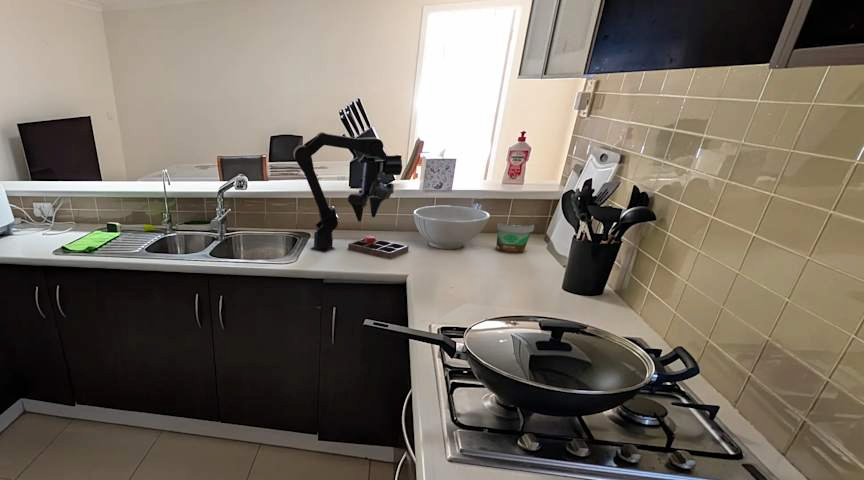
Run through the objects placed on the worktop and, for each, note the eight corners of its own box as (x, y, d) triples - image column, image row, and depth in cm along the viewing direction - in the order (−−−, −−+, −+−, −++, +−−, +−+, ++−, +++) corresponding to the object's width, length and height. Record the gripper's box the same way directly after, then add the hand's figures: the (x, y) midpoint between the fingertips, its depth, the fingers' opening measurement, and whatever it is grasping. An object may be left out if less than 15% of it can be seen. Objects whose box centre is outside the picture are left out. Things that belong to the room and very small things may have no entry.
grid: (347, 249, 193) (348, 243, 191) (366, 242, 200) (367, 237, 199) (389, 259, 181) (390, 253, 179) (408, 251, 188) (408, 245, 187)
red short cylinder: (362, 244, 196) (362, 237, 194) (367, 242, 198) (368, 234, 196) (370, 246, 193) (371, 238, 192) (376, 244, 195) (377, 236, 194)
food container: (492, 253, 183) (498, 225, 179) (491, 248, 188) (497, 221, 184) (529, 255, 179) (536, 227, 174) (528, 251, 184) (535, 223, 179)
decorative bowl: (398, 247, 194) (401, 215, 188) (425, 232, 211) (430, 203, 205) (468, 259, 178) (475, 225, 172) (492, 242, 196) (499, 210, 190)
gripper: (375, 181, 170) (371, 227, 178) (404, 174, 181) (398, 218, 189) (348, 178, 177) (345, 222, 185) (377, 171, 188) (373, 213, 196)
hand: (366, 219), depth 188 cm, fingers open, 9 cm apart
